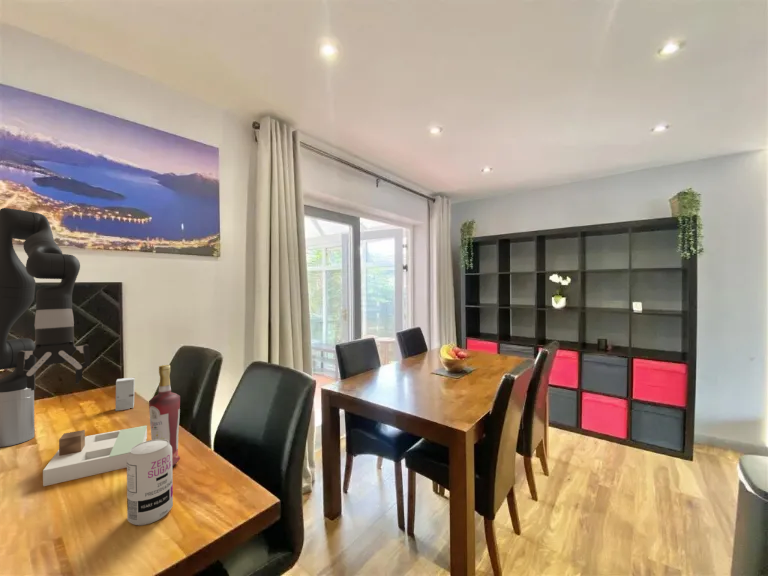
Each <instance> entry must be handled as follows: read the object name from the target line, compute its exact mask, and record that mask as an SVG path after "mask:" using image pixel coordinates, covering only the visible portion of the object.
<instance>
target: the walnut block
mask: <svg viewBox="0 0 768 576" xmlns="http://www.w3.org/2000/svg"><path fill="white" fill-rule="evenodd" d="M85 430H86V429H84V430H83V429H82V430H75V431H69V432H66V433H62V435H61V437H60V438H59V440H58V450H59V456H62V455H67V454H72V453H77V452H81V451H82V449H83V448H84V446H85V436H86V431H85Z"/></svg>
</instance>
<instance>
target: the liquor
mask: <svg viewBox="0 0 768 576" xmlns="http://www.w3.org/2000/svg"><path fill="white" fill-rule="evenodd" d="M170 374H171V365H170V364H164V365H163V364H162V365H159V366H158V375H159V383H158V384H159V386H158V394H157V395H154V396H152V398H150V399H149V400H148V407H149V411H148V412H149V423H150V436H151V440H155V439H166V440H168V441H169V443H170V445H171V446H172V468H173V467H174V466H175V465H176V464H177V463H178V462H179V460H180V459H181V457H180V456H179V429H180V427H179V426H180V415H181V414H180V413H181V409H180V408H181V407H180V406H181V395H179V394H177V393H176V392H173V391H172V388H171V379H170V378H171V377H170Z"/></svg>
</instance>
